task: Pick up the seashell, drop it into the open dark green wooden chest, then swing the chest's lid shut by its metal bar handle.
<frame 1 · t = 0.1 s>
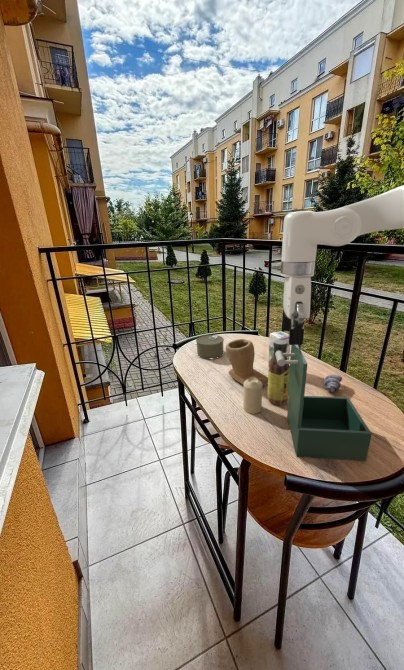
hand: (292, 337, 72), 25 cm above the table, tool pointing down, fingers open, 9 cm apart
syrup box: (278, 369, 109), on the table
seashell: (332, 389, 94), on the table
sauce bottle: (277, 400, 89), on the table
lid: (286, 380, 68), point 16 cm above the table, hinge at 90.0°
chest: (322, 437, 73), on the table
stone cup: (244, 380, 102), on the table
can: (210, 354, 125), on the table
candle: (252, 408, 86), on the table
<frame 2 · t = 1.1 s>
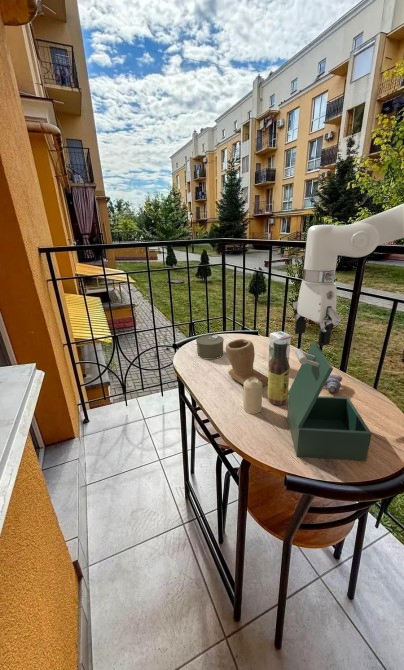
hand: (311, 338, 78), 22 cm above the table, tool pointing down, fingers open, 9 cm apart
lid: (298, 379, 68), point 17 cm above the table, hinge at 71.3°
everything else where it was.
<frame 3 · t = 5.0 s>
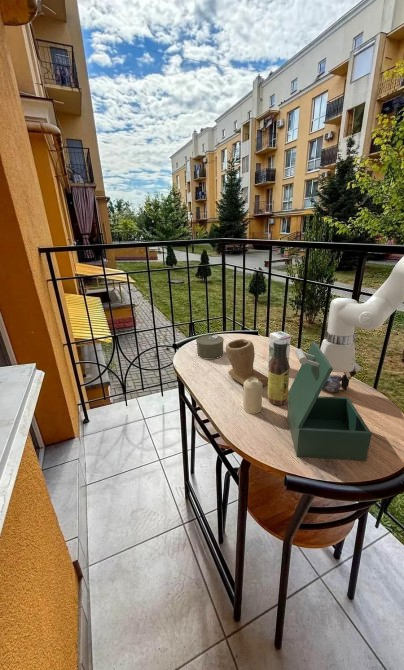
hand: (332, 387, 94), 1 cm above the table, tool pointing down, fingers closed on seashell, 6 cm apart
seashell: (332, 389, 94), on the table, touching gripper
everything else where it was.
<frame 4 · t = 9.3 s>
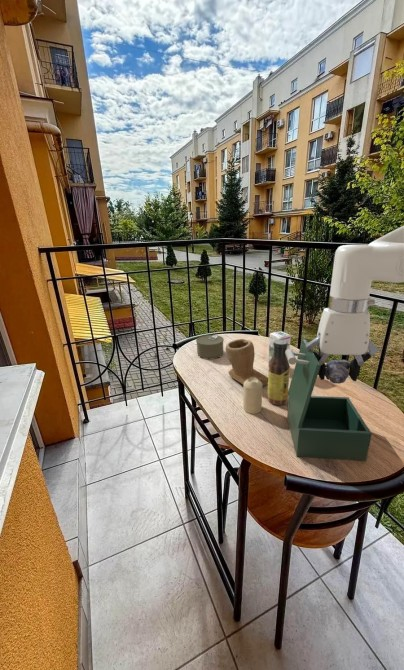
hand: (336, 377, 67), 18 cm above the table, tool pointing down, fingers closed on seashell, 6 cm apart
seashell: (336, 380, 67), point 17 cm above the table, touching gripper
lid: (292, 379, 68), point 17 cm above the table, hinge at 80.6°
everything else where it was.
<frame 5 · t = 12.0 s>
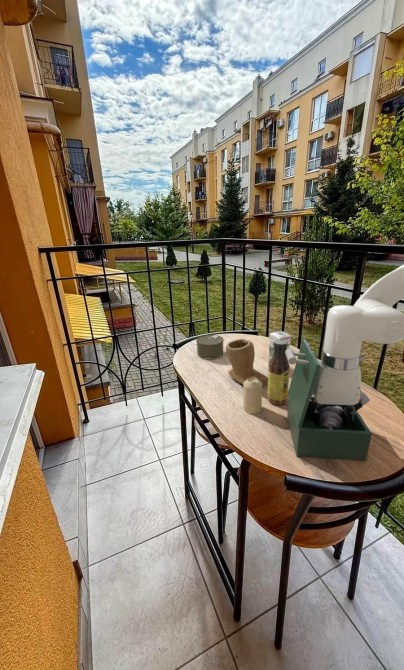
hand: (330, 423, 71), 5 cm above the table, tool pointing down, fingers closed on seashell, 6 cm apart
seashell: (330, 425, 71), point 4 cm above the table, touching gripper
everything else where it was.
when the fingers open (5 cm above the table, at t = 12.3 s): seashell drops 3 cm, resting on chest.
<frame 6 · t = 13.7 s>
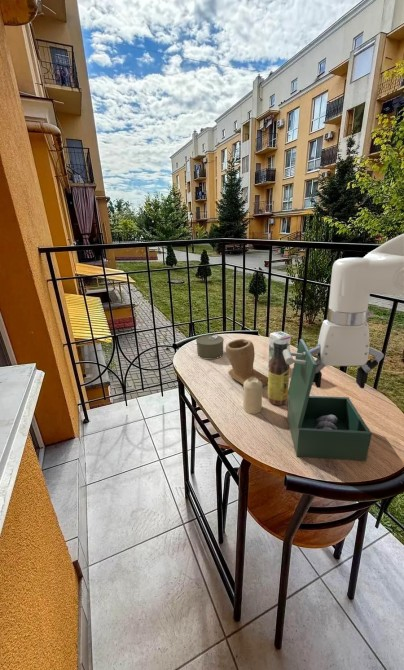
hand: (338, 385, 67), 16 cm above the table, tool pointing down, fingers open, 9 cm apart
seashell: (325, 434, 73), point 1 cm above the table, touching chest
lid: (290, 379, 68), point 17 cm above the table, hinge at 83.1°, touching gripper
everything else where it was.
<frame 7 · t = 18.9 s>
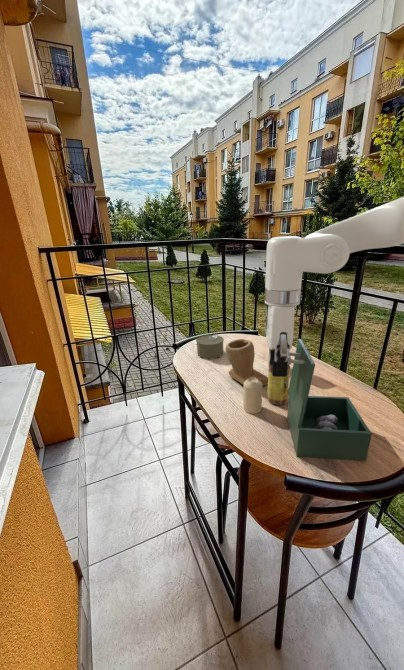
hand: (277, 369, 68), 19 cm above the table, tool pointing down, fingers closed on lid, 5 cm apart
lid: (289, 380, 68), point 17 cm above the table, hinge at 84.4°, touching gripper
everything else where it was.
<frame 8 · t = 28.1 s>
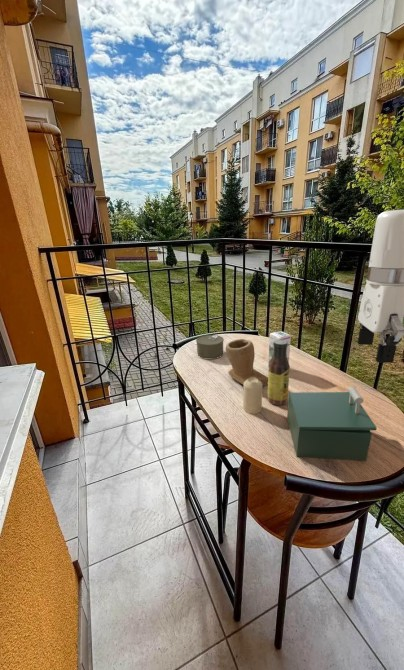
hand: (373, 352, 63), 24 cm above the table, tool pointing down, fingers open, 9 cm apart
lid: (328, 401, 69), point 11 cm above the table, hinge at 3.0°
everything else where it was.
at the end: seashell inside the target area in the chest (1.0 cm from its centre), point 0.6 cm above the chest's base; lid at +3° (first picture: +90°) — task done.
